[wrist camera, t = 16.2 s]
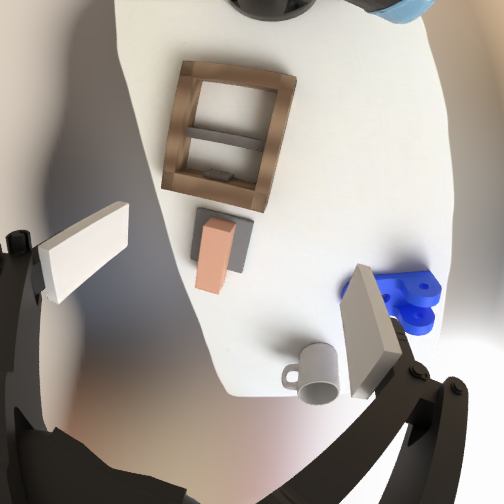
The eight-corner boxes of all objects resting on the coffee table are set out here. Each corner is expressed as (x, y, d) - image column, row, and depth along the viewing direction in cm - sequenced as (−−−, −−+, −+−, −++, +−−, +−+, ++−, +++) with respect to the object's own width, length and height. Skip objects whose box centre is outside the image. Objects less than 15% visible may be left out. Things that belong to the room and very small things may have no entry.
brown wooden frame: (194, 66, 39) (182, 60, 35) (296, 82, 38) (296, 76, 34) (173, 182, 48) (160, 188, 44) (267, 204, 47) (263, 213, 43)
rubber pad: (199, 207, 50) (197, 209, 49) (254, 221, 49) (253, 223, 48) (192, 256, 54) (190, 259, 53) (242, 270, 53) (241, 273, 53)
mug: (338, 341, 57) (341, 379, 47) (336, 367, 60) (338, 404, 50) (282, 343, 59) (277, 381, 50) (285, 369, 63) (280, 406, 53)
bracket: (429, 270, 47) (447, 295, 39) (423, 305, 50) (437, 332, 42) (342, 276, 51) (348, 304, 43) (341, 312, 54) (345, 342, 46)
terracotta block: (211, 217, 49) (203, 225, 45) (236, 223, 49) (230, 232, 45) (202, 275, 54) (194, 287, 50) (224, 281, 54) (218, 294, 50)
